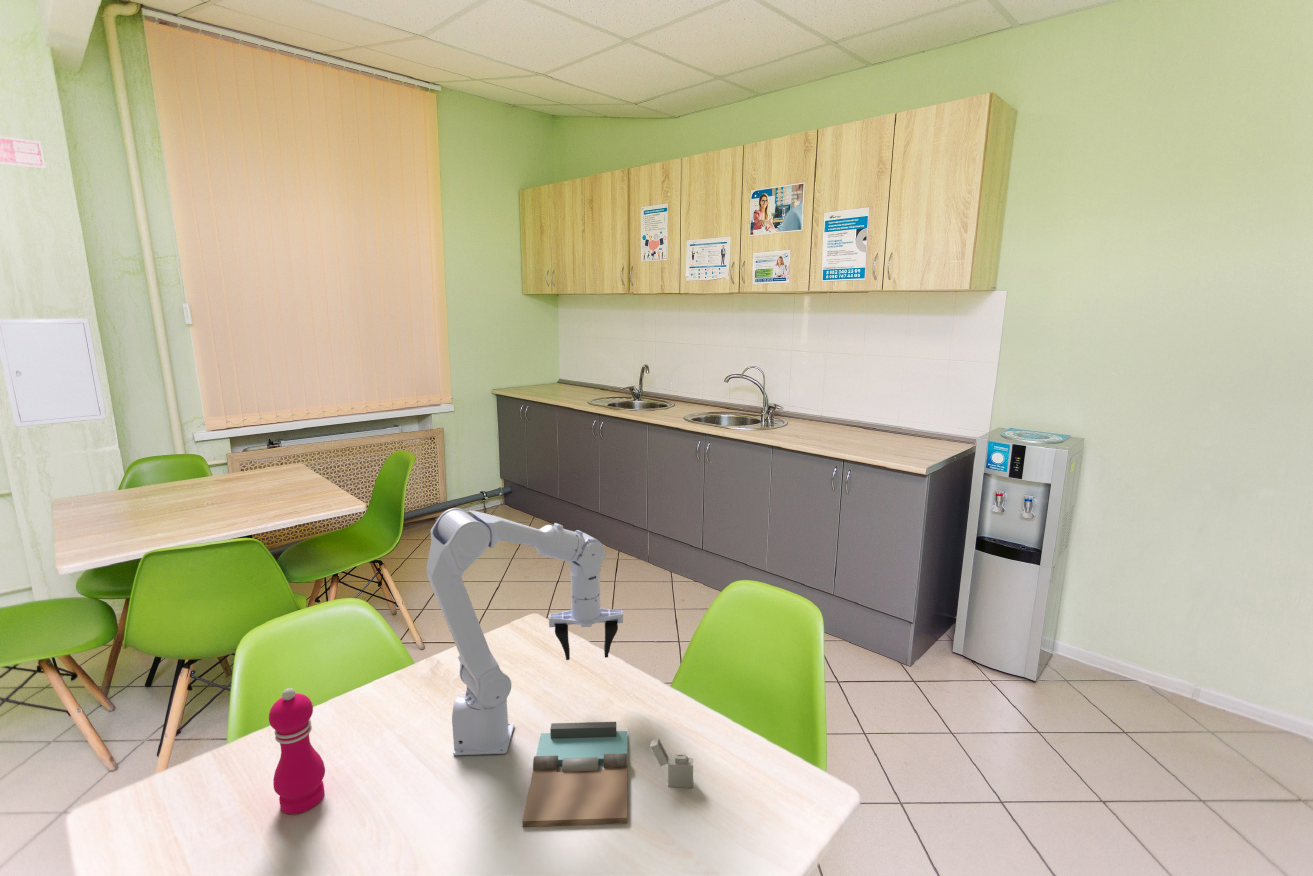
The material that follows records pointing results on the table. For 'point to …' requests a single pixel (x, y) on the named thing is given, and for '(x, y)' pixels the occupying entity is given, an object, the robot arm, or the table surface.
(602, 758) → the teal hinge plate
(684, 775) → the lighter
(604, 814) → the fixed leaf
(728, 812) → the table surface
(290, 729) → the pepper mill
